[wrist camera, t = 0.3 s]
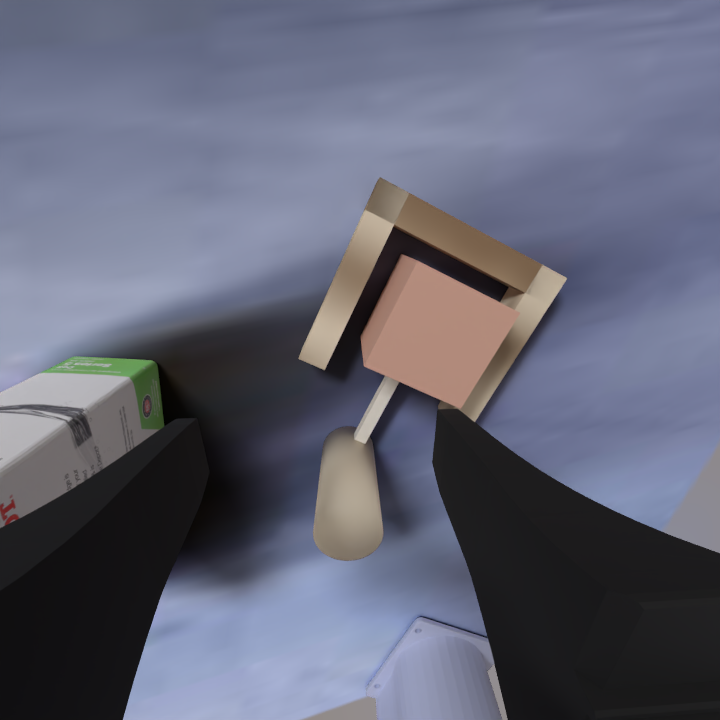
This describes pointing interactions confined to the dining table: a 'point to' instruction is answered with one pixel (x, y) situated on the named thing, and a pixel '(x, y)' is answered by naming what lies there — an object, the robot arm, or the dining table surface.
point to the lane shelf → (454, 238)
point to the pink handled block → (413, 368)
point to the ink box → (72, 427)
